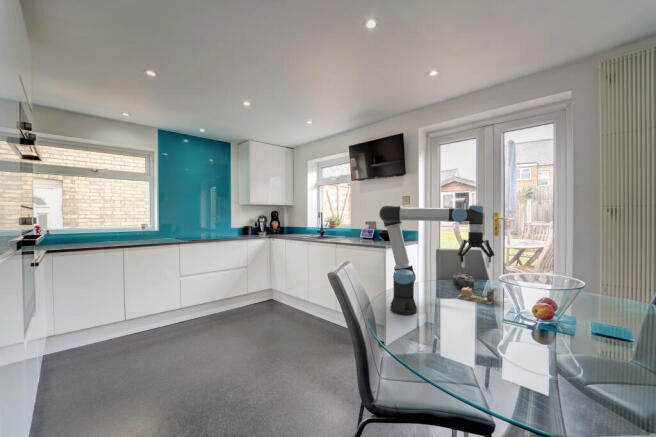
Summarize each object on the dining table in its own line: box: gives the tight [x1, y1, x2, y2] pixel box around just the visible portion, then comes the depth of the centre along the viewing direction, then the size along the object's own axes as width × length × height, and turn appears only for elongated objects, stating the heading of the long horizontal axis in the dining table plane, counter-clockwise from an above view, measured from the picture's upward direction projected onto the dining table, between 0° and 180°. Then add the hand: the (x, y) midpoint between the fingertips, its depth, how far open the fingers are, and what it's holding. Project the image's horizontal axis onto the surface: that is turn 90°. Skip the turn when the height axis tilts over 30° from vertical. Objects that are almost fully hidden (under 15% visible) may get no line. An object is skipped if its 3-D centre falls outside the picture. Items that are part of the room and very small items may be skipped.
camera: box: [452, 272, 475, 291], centre depth 191 cm, size 16×10×10 cm, turn 24°
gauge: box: [460, 287, 473, 297], centre depth 169 cm, size 5×7×5 cm
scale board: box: [457, 287, 495, 305], centre depth 166 cm, size 18×11×7 cm, turn 50°
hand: (475, 267), depth 155 cm, fingers open, 13 cm apart
